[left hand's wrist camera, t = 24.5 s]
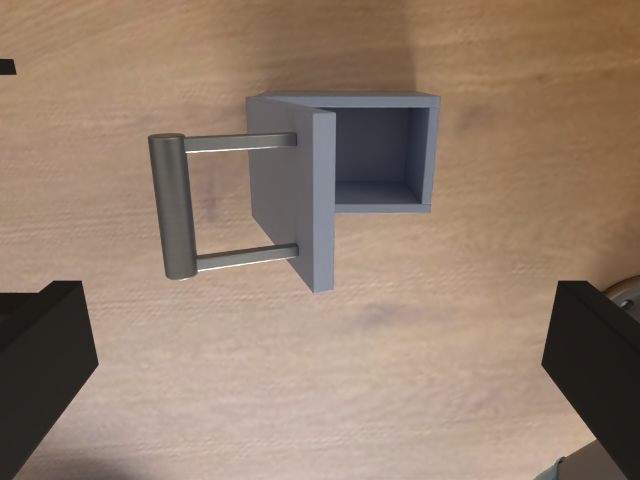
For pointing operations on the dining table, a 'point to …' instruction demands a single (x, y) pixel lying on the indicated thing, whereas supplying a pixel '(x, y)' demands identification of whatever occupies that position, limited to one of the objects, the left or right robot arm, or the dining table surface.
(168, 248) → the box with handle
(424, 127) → the chest
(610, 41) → the dining table surface
